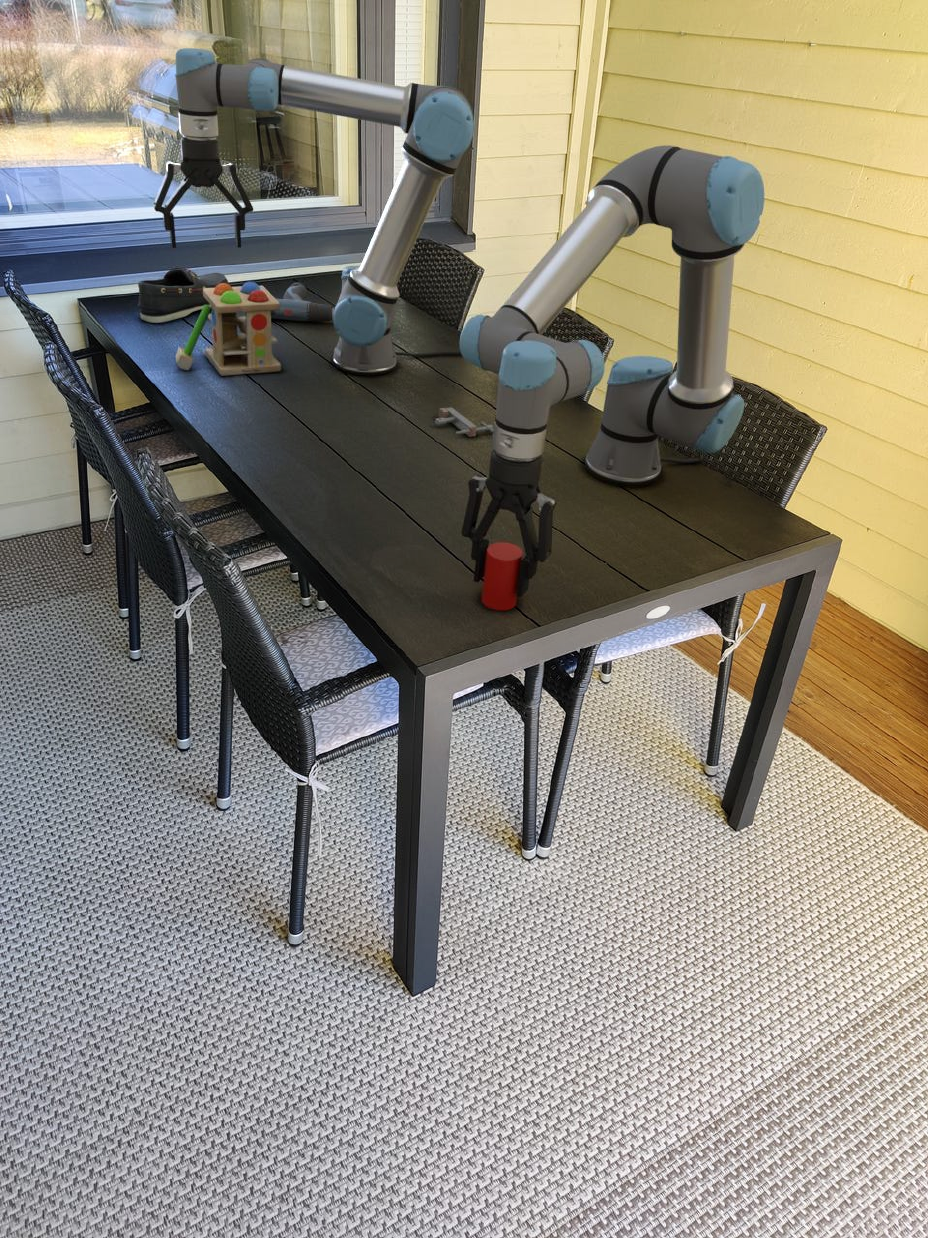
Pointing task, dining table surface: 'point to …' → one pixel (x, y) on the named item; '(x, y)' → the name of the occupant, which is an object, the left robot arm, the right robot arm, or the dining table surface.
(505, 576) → the tin
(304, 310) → the power drill
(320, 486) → the dining table surface
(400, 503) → the dining table surface
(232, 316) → the pounding bench toy
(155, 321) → the boat shoe
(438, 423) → the clamp
